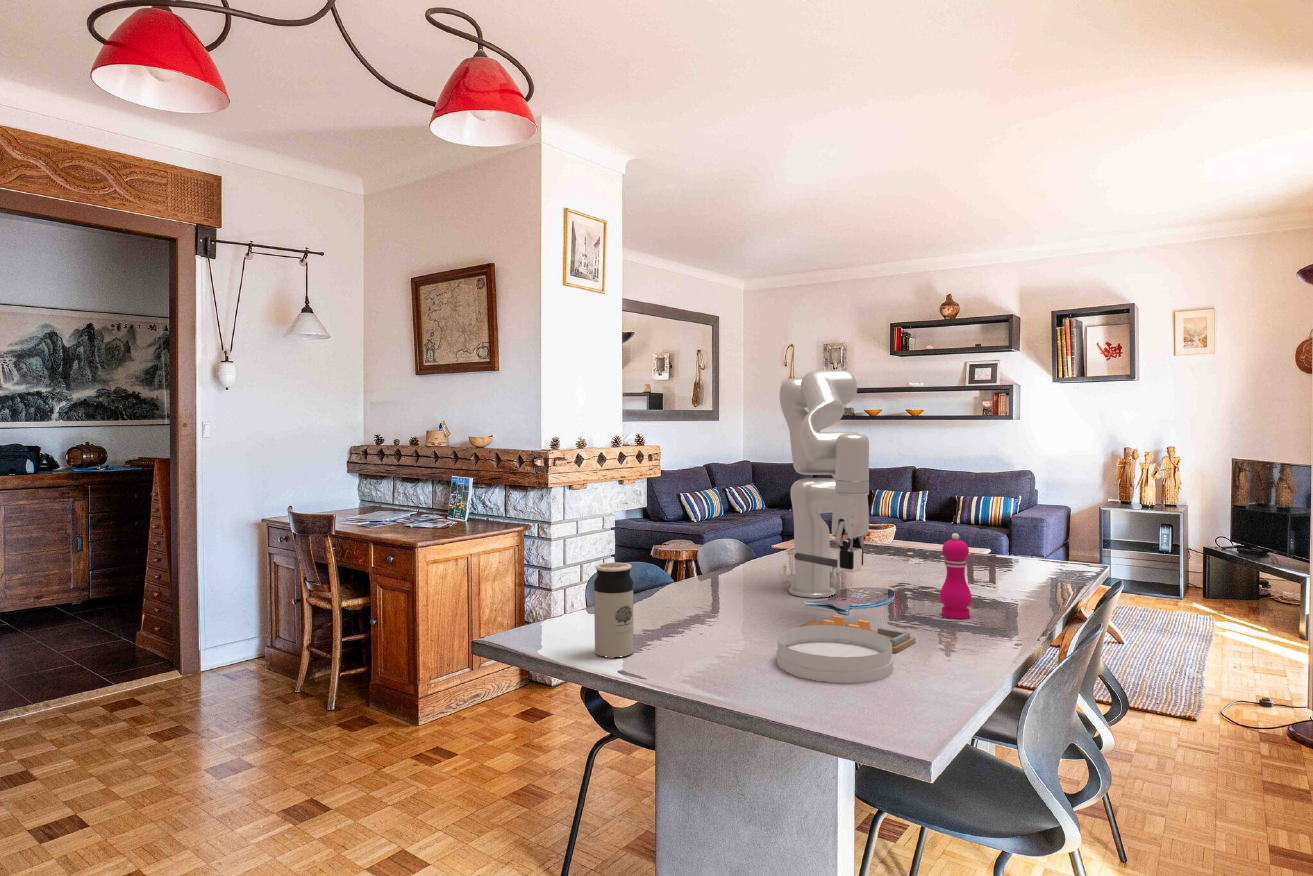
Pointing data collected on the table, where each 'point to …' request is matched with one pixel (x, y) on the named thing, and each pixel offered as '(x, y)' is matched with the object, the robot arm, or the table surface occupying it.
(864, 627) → the clip
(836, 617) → the clip
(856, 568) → the connector
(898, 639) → the end holder
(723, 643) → the table surface
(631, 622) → the travel mug
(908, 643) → the board
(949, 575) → the pepper mill
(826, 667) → the dish
